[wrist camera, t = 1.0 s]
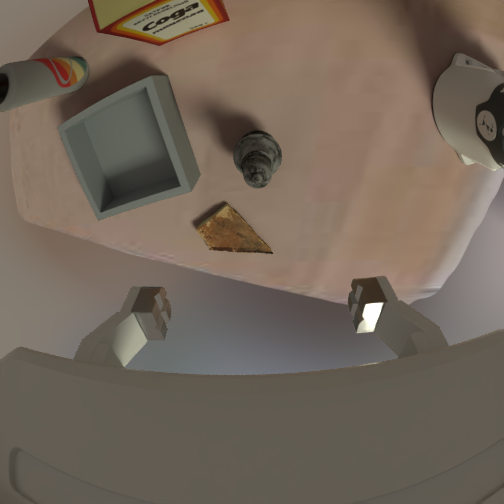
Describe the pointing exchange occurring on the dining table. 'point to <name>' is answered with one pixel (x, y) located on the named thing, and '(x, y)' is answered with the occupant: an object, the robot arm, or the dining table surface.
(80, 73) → the lotion bottle
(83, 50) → the dining table surface
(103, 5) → the baking soda box
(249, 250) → the shard
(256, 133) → the stone chess piece
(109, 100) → the box
